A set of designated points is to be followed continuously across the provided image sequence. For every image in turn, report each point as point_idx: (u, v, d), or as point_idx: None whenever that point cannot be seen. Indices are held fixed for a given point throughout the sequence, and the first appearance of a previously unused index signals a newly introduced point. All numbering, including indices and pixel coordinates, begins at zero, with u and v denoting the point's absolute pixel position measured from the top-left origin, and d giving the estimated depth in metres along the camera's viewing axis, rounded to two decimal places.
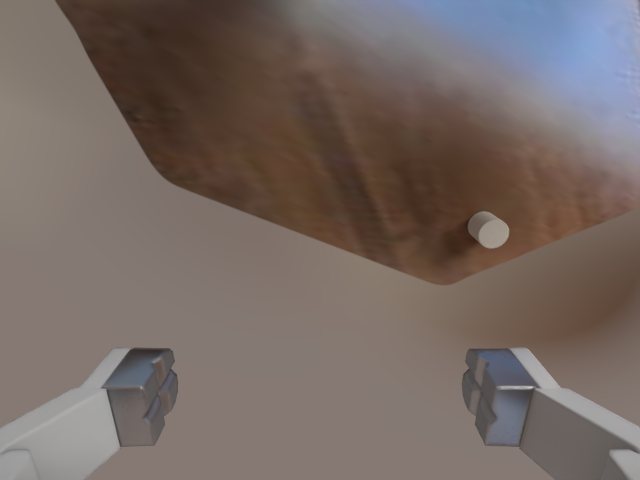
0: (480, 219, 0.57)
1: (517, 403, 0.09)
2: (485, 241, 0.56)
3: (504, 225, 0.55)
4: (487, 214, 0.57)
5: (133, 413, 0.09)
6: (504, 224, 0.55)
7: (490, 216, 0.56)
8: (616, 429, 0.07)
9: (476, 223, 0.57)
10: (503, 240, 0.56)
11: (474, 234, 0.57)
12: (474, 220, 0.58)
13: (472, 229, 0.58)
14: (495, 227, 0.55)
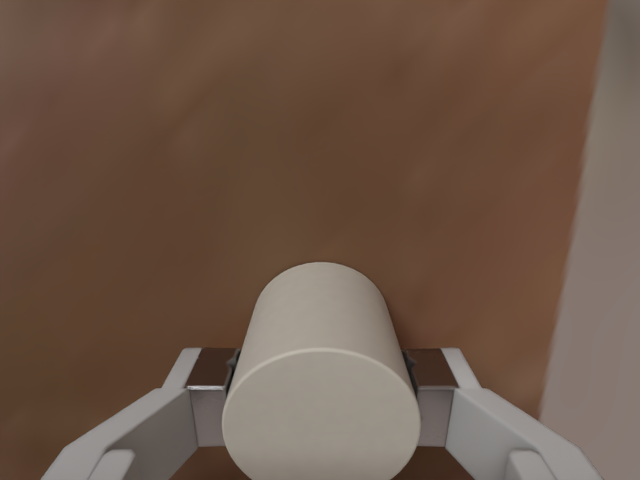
0: None
1: (439, 403, 0.09)
2: (345, 478, 0.09)
3: (282, 368, 0.08)
4: (247, 333, 0.11)
5: (213, 413, 0.09)
6: (275, 366, 0.08)
7: (240, 355, 0.10)
8: (523, 430, 0.07)
9: None
10: (388, 393, 0.08)
11: None
12: None
13: None
14: (273, 418, 0.08)
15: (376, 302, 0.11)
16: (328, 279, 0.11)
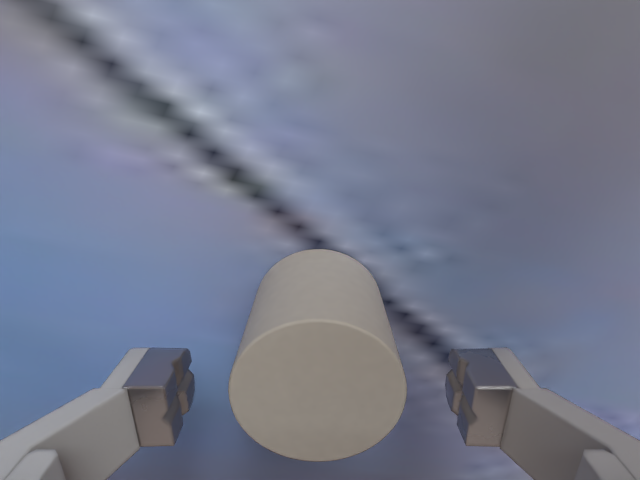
0: None
1: (497, 403, 0.09)
2: (339, 439, 0.10)
3: (283, 337, 0.09)
4: (250, 313, 0.12)
5: (153, 413, 0.09)
6: (277, 335, 0.09)
7: (244, 331, 0.11)
8: (591, 429, 0.07)
9: None
10: (376, 359, 0.09)
11: None
12: None
13: None
14: (274, 383, 0.09)
15: (368, 284, 0.12)
16: (324, 263, 0.12)
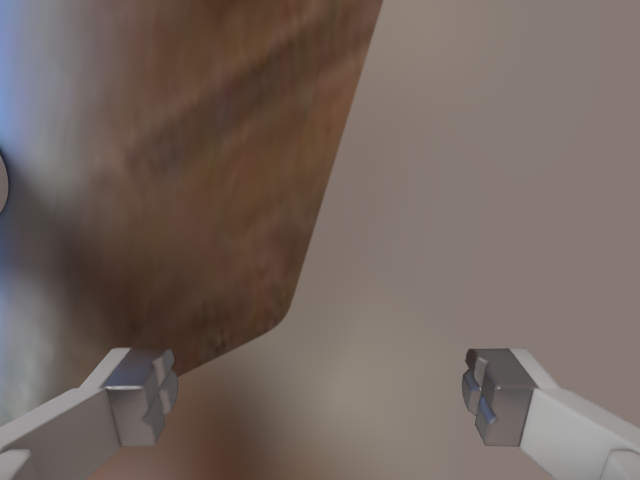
0: None
1: (517, 403, 0.09)
2: None
3: None
4: None
5: (133, 413, 0.09)
6: None
7: None
8: (616, 430, 0.07)
9: None
10: None
11: None
12: None
13: None
14: None
15: None
16: None
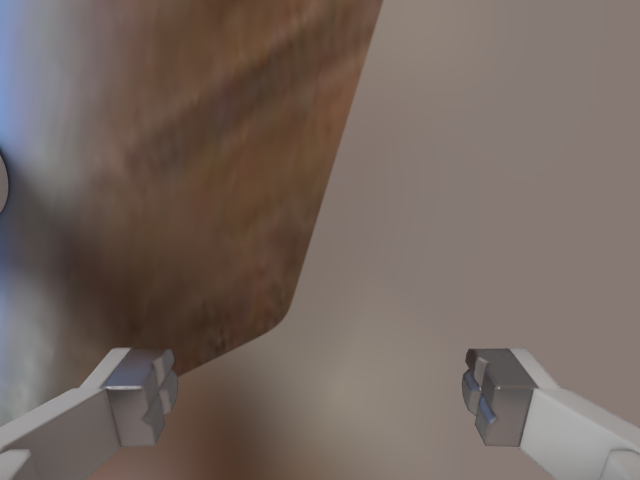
0: None
1: (517, 403, 0.09)
2: None
3: None
4: None
5: (133, 413, 0.09)
6: None
7: None
8: (616, 430, 0.07)
9: None
10: None
11: None
12: None
13: None
14: None
15: None
16: None
